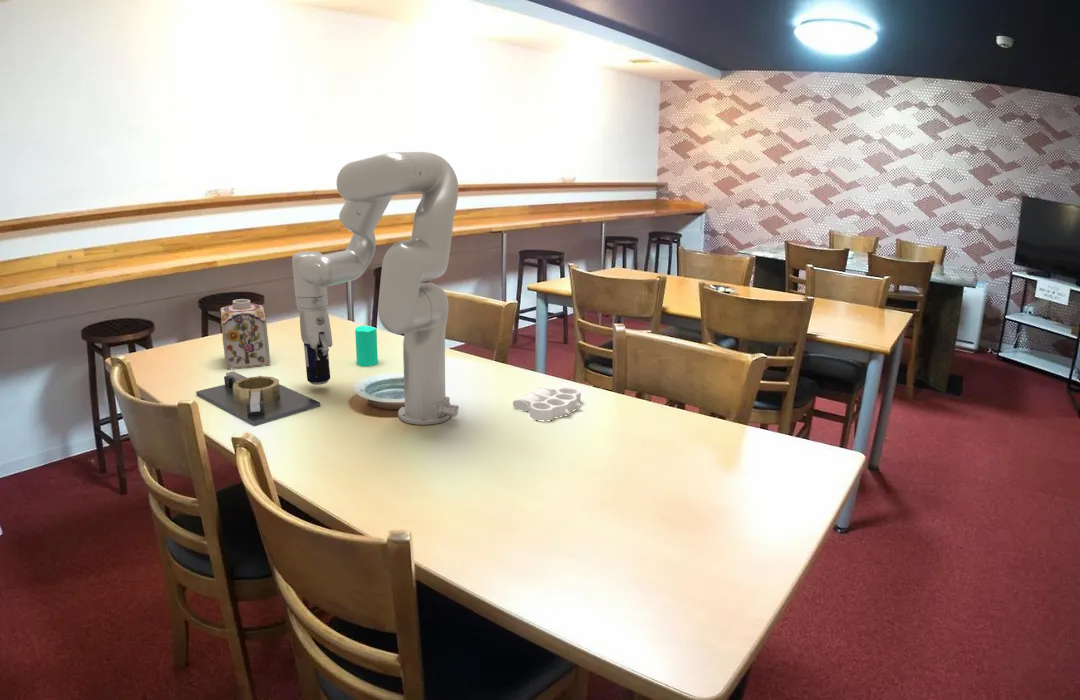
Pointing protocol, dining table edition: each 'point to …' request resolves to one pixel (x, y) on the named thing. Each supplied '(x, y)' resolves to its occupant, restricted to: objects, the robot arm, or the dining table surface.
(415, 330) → the robot arm
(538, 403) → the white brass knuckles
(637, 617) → the dining table surface
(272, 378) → the grey plate with collar
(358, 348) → the candle
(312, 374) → the beverage can
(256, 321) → the decorative jar
